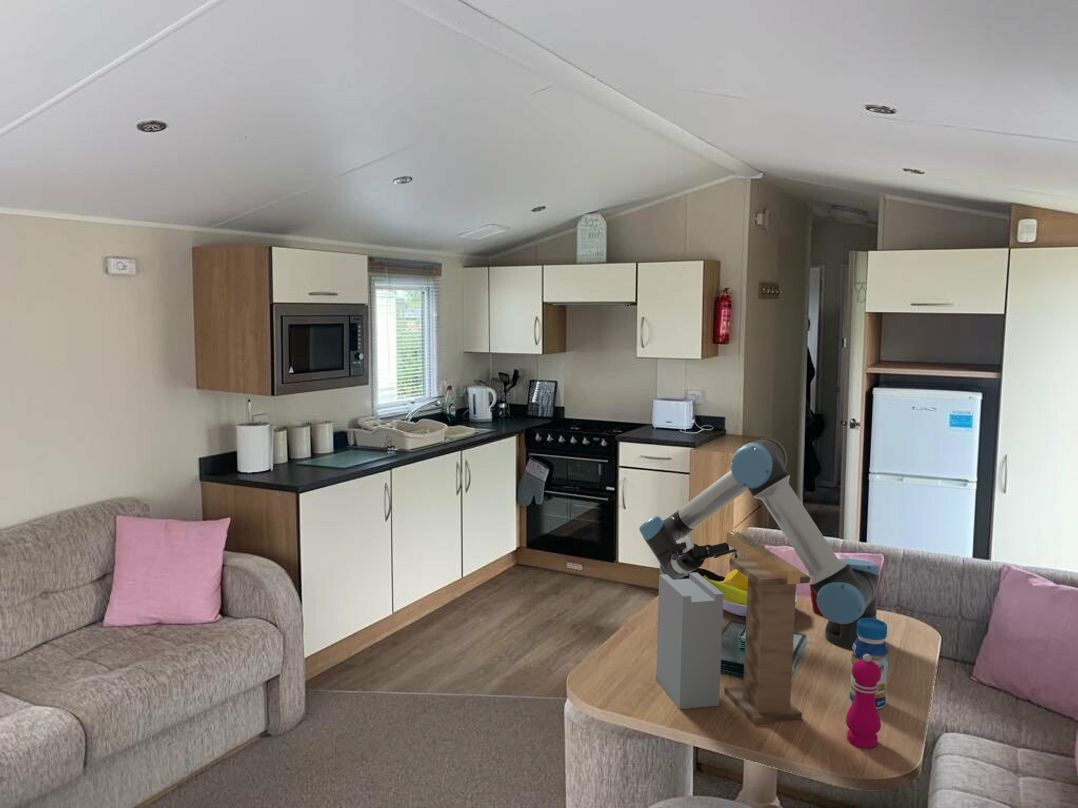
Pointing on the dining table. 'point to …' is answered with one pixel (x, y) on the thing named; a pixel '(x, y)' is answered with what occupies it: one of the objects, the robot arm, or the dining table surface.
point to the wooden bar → (764, 558)
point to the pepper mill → (864, 704)
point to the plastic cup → (814, 598)
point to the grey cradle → (689, 640)
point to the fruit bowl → (734, 592)
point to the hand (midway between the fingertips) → (715, 540)
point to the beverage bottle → (872, 653)
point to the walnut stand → (767, 646)
